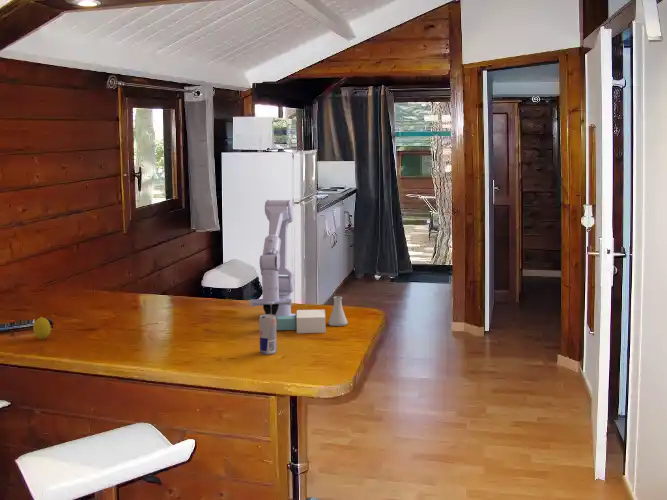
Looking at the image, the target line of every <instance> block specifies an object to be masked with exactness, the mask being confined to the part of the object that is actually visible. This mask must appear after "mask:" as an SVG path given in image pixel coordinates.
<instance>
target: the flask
mask: <svg viewBox="0 0 667 500" xmlns="http://www.w3.org/2000/svg"><path fill="white" fill-rule="evenodd" d="M342 300H343V297H342V296H338V295H337V296H333V308H332V309H331V310H332V311H331V314H330V317H329V319H328V323H327V324H328V325H329V326H331V327H342V326H347V325H348V324H349V323H348V320H347V317H346V314H345V311H344V309H343V304H342Z"/></svg>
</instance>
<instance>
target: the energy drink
mask: <svg viewBox="0 0 667 500" xmlns="http://www.w3.org/2000/svg"><path fill="white" fill-rule="evenodd" d="M258 324H259V325H258V329H259V332H258V334H259V352H260V354H261V355H267V356H271V355H274V354H276V353H277V352H278V349H277V348H278V346H277V345H278V343H277V337H278V336H277V319H276V317H275V315H273V314H265V313H264V314H263V313H262V314H260V315H259V317H258Z"/></svg>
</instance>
